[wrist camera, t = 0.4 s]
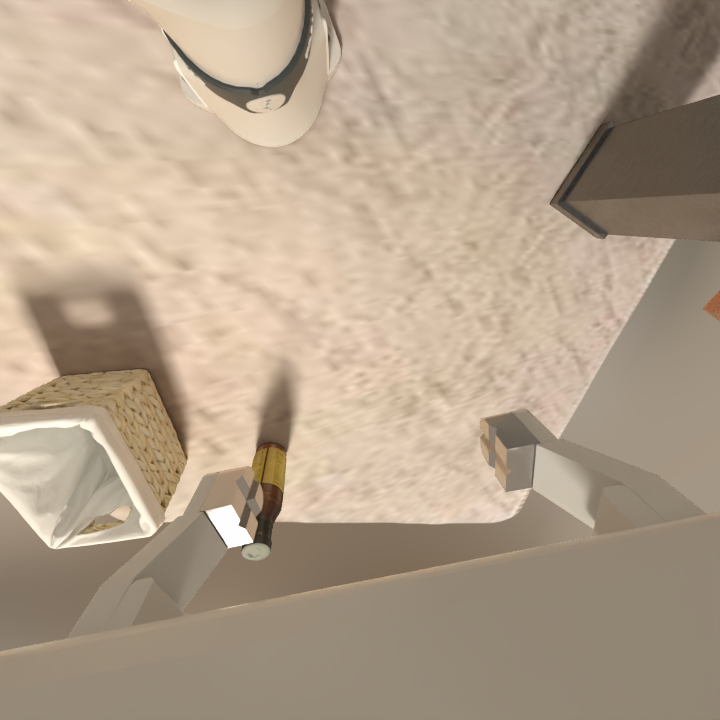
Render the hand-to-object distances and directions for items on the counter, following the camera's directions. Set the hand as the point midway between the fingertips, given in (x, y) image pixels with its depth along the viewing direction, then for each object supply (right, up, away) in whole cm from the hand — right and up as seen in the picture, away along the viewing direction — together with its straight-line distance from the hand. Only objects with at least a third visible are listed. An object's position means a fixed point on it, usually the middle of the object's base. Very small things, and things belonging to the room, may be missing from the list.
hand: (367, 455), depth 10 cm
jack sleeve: (+36, +30, +34) cm, 58 cm away
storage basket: (-42, -8, +43) cm, 60 cm away
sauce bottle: (-18, -15, +49) cm, 55 cm away
